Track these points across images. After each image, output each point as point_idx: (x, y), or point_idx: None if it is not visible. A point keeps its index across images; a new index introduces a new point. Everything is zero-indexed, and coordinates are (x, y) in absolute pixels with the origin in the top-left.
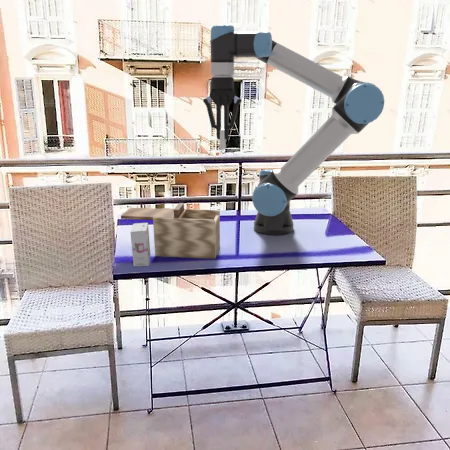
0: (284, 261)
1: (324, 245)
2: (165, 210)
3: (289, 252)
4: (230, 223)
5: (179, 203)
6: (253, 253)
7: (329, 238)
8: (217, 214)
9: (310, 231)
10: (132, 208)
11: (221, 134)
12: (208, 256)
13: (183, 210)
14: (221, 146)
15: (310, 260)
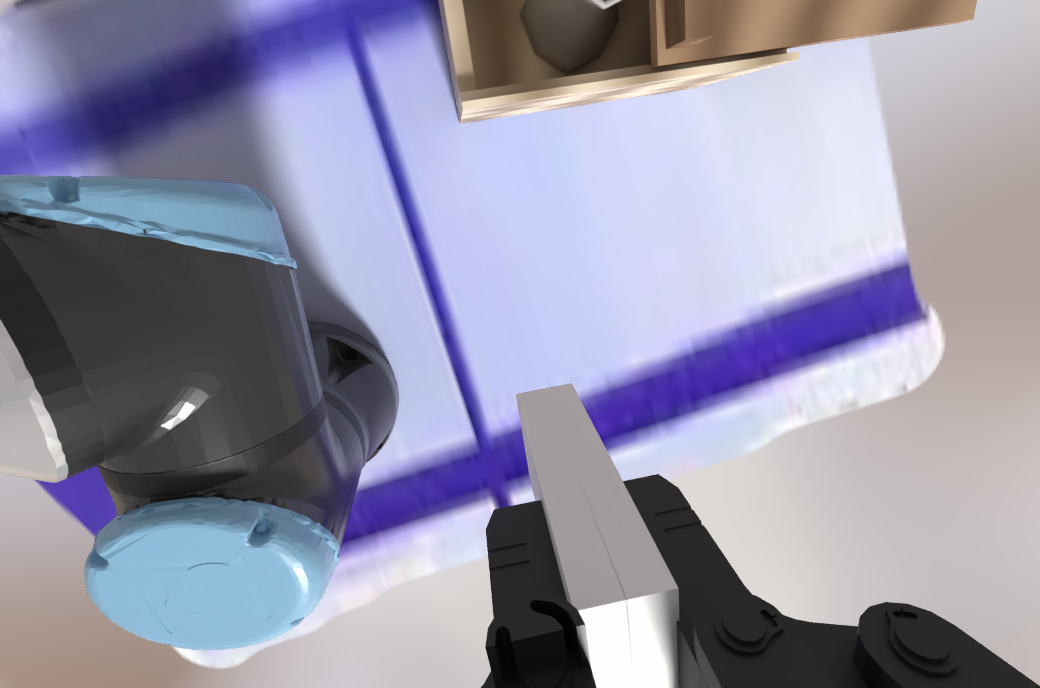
0: (119, 14)
1: None
2: (770, 11)
3: (144, 138)
4: (502, 402)
5: (710, 20)
6: (292, 80)
7: None
8: (469, 88)
9: None
10: (959, 4)
11: (609, 522)
12: None
13: (666, 26)
14: (560, 406)
15: (9, 60)
